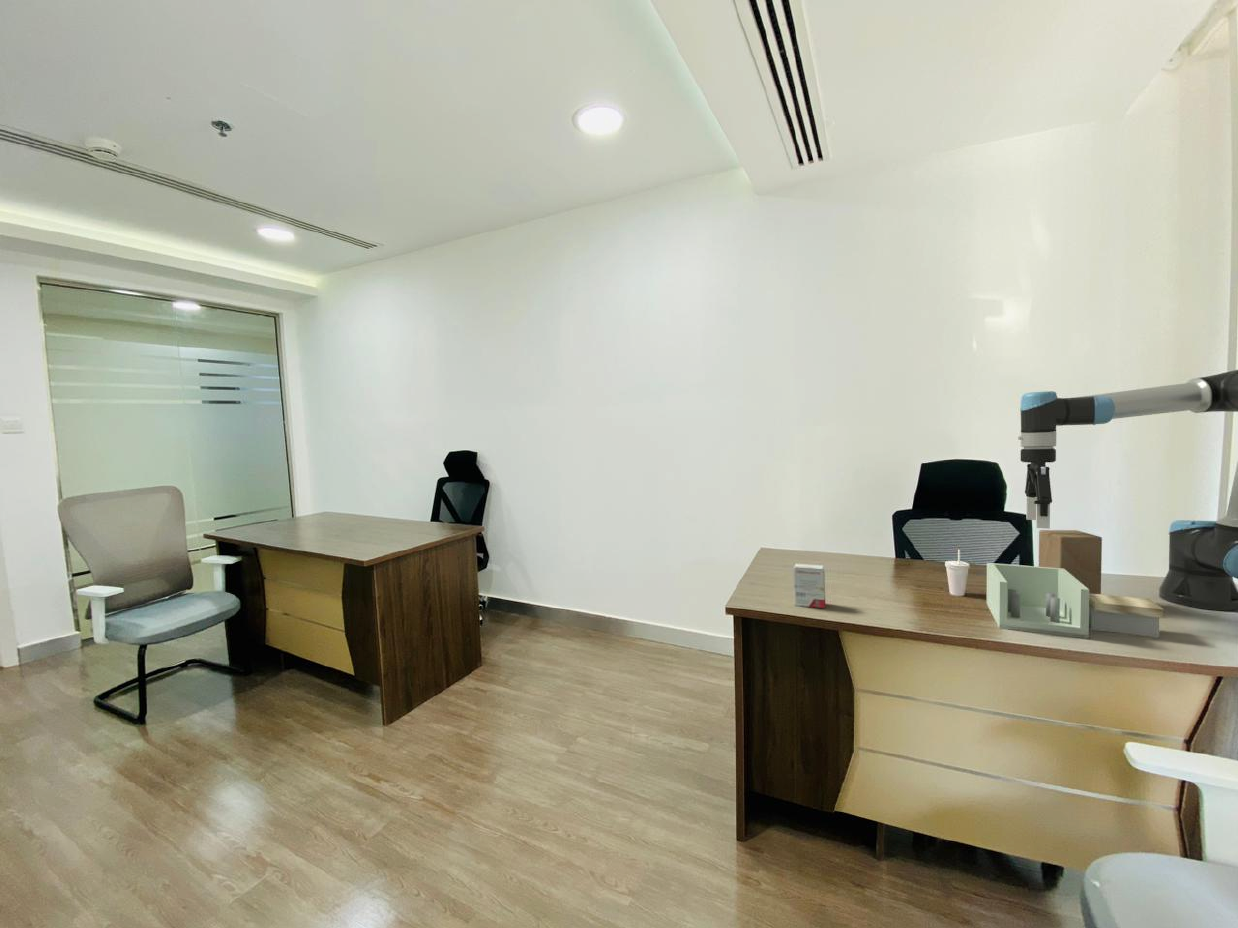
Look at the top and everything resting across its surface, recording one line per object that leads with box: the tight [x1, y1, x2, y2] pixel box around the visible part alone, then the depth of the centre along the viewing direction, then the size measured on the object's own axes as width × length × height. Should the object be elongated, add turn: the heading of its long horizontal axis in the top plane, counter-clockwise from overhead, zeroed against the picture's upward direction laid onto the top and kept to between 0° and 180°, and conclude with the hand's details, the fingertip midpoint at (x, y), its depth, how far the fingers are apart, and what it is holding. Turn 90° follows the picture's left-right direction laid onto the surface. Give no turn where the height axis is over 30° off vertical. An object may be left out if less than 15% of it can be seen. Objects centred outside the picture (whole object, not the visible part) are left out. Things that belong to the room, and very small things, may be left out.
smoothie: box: [944, 548, 971, 597], centre depth 152 cm, size 6×6×14 cm
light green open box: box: [986, 562, 1090, 640], centre depth 130 cm, size 17×20×12 cm
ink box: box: [793, 563, 826, 609], centre depth 147 cm, size 9×5×12 cm, turn 65°
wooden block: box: [1038, 529, 1103, 595], centre depth 142 cm, size 10×10×20 cm
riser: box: [1089, 606, 1161, 639], centre depth 122 cm, size 12×4×6 cm, turn 61°
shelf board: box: [1089, 593, 1165, 619], centre depth 122 cm, size 12×8×2 cm, turn 61°
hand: (1037, 523), depth 138 cm, fingers open, 13 cm apart
